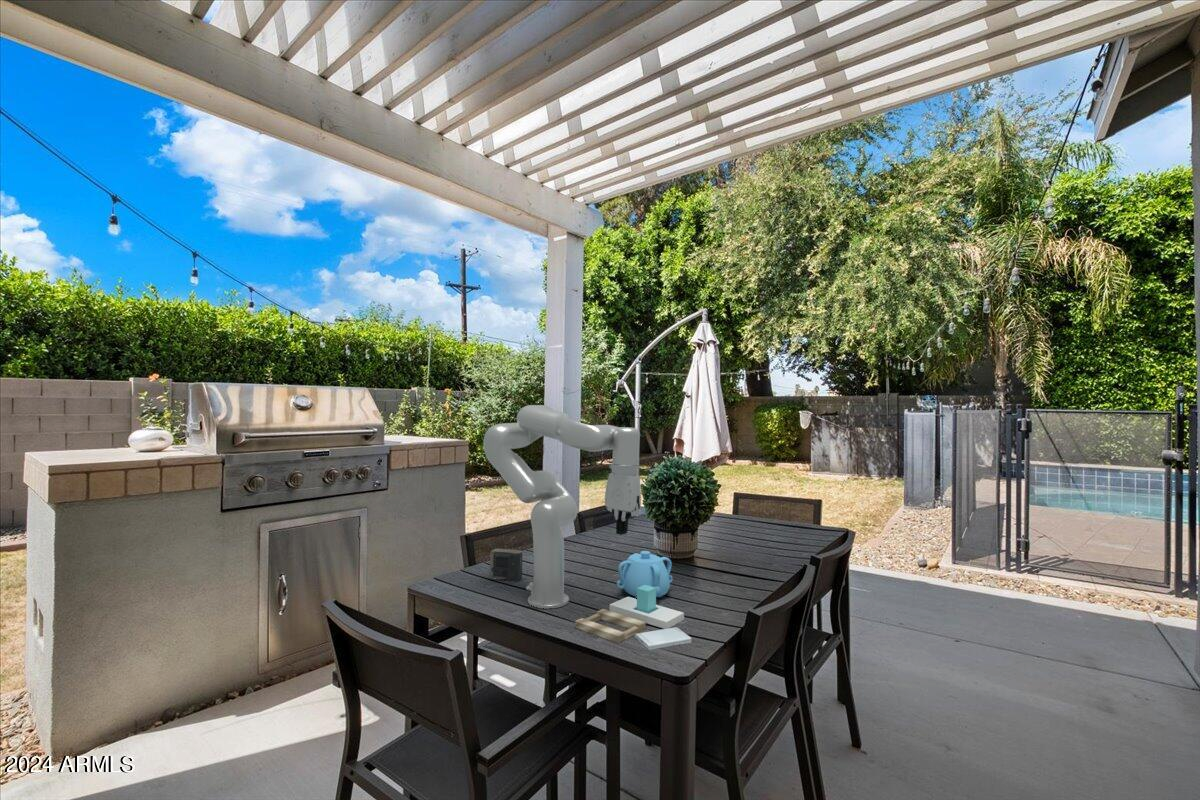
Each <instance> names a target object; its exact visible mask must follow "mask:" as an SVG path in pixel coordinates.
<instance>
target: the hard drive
mask: <svg viewBox="0 0 1200 800" xmlns="http://www.w3.org/2000/svg"><path fill="white" fill-rule="evenodd" d="M634 638H635V639H636V640H637V641H639V643H641V645H643V646H644V647H645V648H646V649H647V650H648V651H651V650H656V649H662V647H663V648H667V647H668V646H669V647H673V645H674V646H679V644H680V645H684V644H685V643H686V644H691V642H693V640H692V637H690V635H688V634H687V633H685V632H684V630H681V629H680V628H679V627H677V626H676V627H670V628H668V629H663V628H661V629H657V630H656V629H655V630H652V631H645V632H639V633H637V634H635V635H634ZM686 644H685V645H686Z"/></svg>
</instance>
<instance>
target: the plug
mask: <svg viewBox="0 0 1200 800" xmlns="http://www.w3.org/2000/svg"><path fill="white" fill-rule="evenodd" d="M656 605H657V597H656V588H655V587H651V586H647V585H643V586H641V587H638V588H637V610H638V611H641V612H645V613H648V614H649V613H651V612H653V611H655V610H656Z"/></svg>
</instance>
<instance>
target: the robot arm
mask: <svg viewBox="0 0 1200 800" xmlns="http://www.w3.org/2000/svg"><path fill="white" fill-rule="evenodd" d="M640 435H641V433H640V430H639V429H637V428H636V427H631V426H630V427H628V426H627V427H626V426H621V427H619V426H615V425H611V424H594V425H592V424H587V423H583V422H580V421H576V420H573V419H571V417H570V416H569V414H568V413H566V412H562V411H559V410H558V411H557V410H554V409H553V408H552V407H550V406H548V405H544V404H540V405H539V404H529V405H525V406H523V407H522V408H520V409H519V411H518V412H517V415H516V422H508V423H506V422H505V423H504V422H503V423H497V424H494V425H492V426H490V427H489V428H488V429H487V430H486V431H485V434H484V436H483V444H482V445H483V451H484V455H485V457H486V459H487V461H488V462H489V463H490V464H491V465H492V466H493V468H494V469H495V470H496V471H497V472H498V473H499V474H500V476H501V477H502V478H503V480H504V481H505V482H506V484H507V485H508V486H509V488H510V489H511V491H513V493H514V495H516V497H517V498H518V499H519V500H520V501H521V502H522V503H524V504H533V503H536V502H537V503H536V504H535V505H534V506H533V507H532V508H531V512H530V524H531V530H532V531H531V532H532V540H533V541H532V543H533V548H532V549H533V550H532V551H533V553H532V554H533V556H532V557H533V559H532V564H533V565H532V567H533V568H532V572H533V573H532V574H533V575H532V576H533V577H532V581H531V582H529V583H528V585H527V586H526V588H525V589H526V591H529V592H530V595H529V596H528V598H527V604H528V603H529V604H528V605H529V606H531V605H532V606H531V607H533V606H534V607H533V608H536V607H537V608H538V609H543V608H544V609H547V610H549V609H550V608H551V609H557V608H558V609H559V608H562V607H564V606H566V605H568V604H569V602H570V597H569V595H567V594H566V593H565V541H564V540H565V539H564V535H563V533H562V527H564V526H567V525H569V524H571V523H573V522H574V521H575V520H576V518H577V516H578V514H579V513H578V512H579V511H578V510H579V509H578V505H577V503H576V501H575V499H574V497H573V496H572V495H571V494H570V493H569V491H568V489H566V488H565V486H564V485H563V484H562V483H561V482H560V480H559V479H558V478H557V477H556V475H555V474H553V473H552V472H550V471H546V470H533V469H531V468H530V466H528V464H527V463H526V462H525V460H524V459H523V458H522V457H521V456H519V455H518V454H517V453H516V452H514V451H513V449H521V448H524V447H527V446H529V445H531V444H532V443H533V442H535V441H537V440H538V439H540V438H541V437H545V438H550V439H552V440H553V439H554V440H557V441H558V442H560V443H562V444H564V445H566V446H569V447H571V448H575V449H579V450H582V451H587V452H590V453H591V452H593V453H596V452H602V451H608V450H609V451H610V450H612V461H611V463H610V464H609V466H608V467H609V469H610V470H611V473H609V474H608V476H607V481H606V486H605V492H604V493H605V494H604V505H605V507H606V509H607V511H609V512H610V513H612V514H613V516H614V519H615V521H616V522H615V529H616V530H615V534H617V535H620V536H622V535H626V534H627V533H628V529H629V521H630V519H631V518H632V517H638V516H640V509H641V505H642V503H641V502H642V488H641V480H640V478H641V477H640V476H639V475H638V474H639V458H640V457H639V455H640V439H641V438H640V437H641V436H640ZM537 608H536V609H537ZM544 609H543V610H544ZM551 609H550V610H551Z"/></svg>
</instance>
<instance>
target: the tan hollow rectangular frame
mask: <svg viewBox="0 0 1200 800" xmlns="http://www.w3.org/2000/svg"><path fill="white" fill-rule="evenodd" d="M600 620H602V621H605V622H607V623H611V624H614V625H617V626H620V627H623V628H625V629H627V630H625V631H621V630H618V629H615V628H612V627H610V626H607V625H603V624H600V623H599V622H597V621H600ZM646 624H647V623H646V622H643V621H640V620H637V619H634V618H630V617H627V616H624V615H621V614H618V613H615V612H612V611H609V610H608V609H605V608H602V609H600V610H596V613H594V614H593V615H590V616H589V617H587V618H583V617H581V618H578V619H577V620H574V628H575V627H576V629H577V628H579V629H578V630H580V629H581V631H583V632H586V633H589V634H592V635H594V636H597V637H599V638H603V639H604V640H605V639H606V640H608V641H610V642H614V643H616V644H619V643H621V642H623V641H625V640H627V639H629V638H631V637H633V636H635V634H638V633H642V631H645V630H646Z"/></svg>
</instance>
